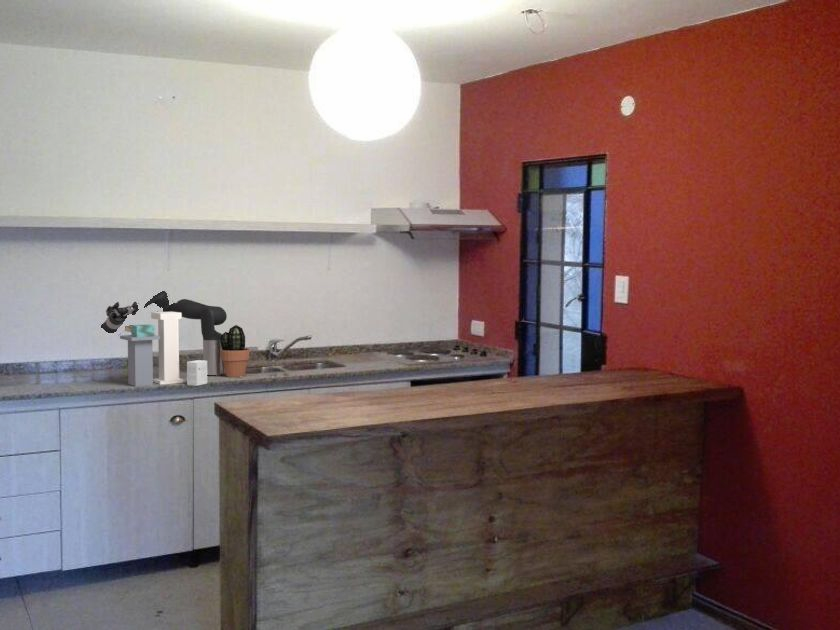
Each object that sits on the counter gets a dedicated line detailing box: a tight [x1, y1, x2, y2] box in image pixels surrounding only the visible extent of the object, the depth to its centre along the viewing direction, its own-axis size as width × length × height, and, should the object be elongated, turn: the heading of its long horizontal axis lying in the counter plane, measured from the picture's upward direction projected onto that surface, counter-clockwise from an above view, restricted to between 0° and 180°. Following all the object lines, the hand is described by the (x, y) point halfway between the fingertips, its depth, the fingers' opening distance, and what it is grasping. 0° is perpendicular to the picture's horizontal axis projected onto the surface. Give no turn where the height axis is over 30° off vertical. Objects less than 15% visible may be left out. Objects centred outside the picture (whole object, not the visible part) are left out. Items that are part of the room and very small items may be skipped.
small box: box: [186, 359, 208, 387], centre depth 382 cm, size 8×6×10 cm
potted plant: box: [220, 324, 251, 378], centre depth 408 cm, size 14×14×25 cm
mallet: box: [124, 323, 155, 337], centre depth 381 cm, size 8×20×5 cm, turn 41°
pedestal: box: [119, 334, 160, 387], centre depth 379 cm, size 13×13×22 cm
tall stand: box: [150, 311, 184, 385], centre depth 387 cm, size 11×10×32 cm
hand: (127, 303), depth 405 cm, fingers open, 8 cm apart
